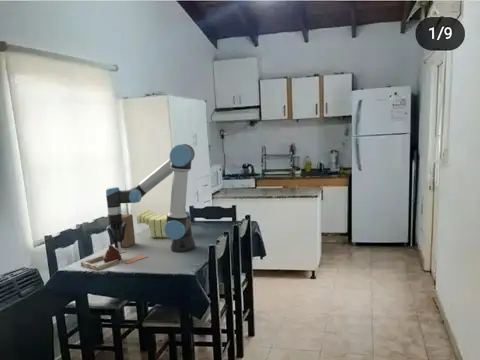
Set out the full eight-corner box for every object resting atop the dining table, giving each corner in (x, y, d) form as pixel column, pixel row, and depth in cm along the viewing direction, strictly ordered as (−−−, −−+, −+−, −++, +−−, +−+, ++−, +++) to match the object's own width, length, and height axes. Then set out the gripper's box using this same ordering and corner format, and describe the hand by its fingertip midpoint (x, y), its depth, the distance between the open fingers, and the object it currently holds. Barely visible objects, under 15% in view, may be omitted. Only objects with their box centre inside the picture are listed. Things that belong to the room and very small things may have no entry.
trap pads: (148, 256, 243) (148, 256, 243) (128, 263, 233) (128, 263, 232) (119, 250, 262) (119, 249, 262) (99, 256, 251) (99, 255, 251)
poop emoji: (107, 263, 235) (105, 247, 234) (101, 260, 242) (99, 245, 241) (123, 259, 241) (122, 244, 240) (118, 256, 248) (116, 241, 247)
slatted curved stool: (138, 238, 288) (136, 213, 286) (149, 232, 304) (147, 208, 302) (178, 238, 281) (176, 213, 279) (187, 232, 296) (185, 208, 294)
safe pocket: (118, 263, 235) (118, 259, 235) (97, 270, 225) (97, 266, 224) (102, 258, 246) (101, 255, 246) (81, 265, 235) (80, 262, 235)
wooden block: (128, 247, 267) (125, 217, 264) (114, 247, 269) (111, 217, 266) (135, 243, 277) (132, 213, 274) (122, 243, 279) (119, 214, 276)
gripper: (120, 211, 249) (124, 249, 252) (101, 215, 240) (105, 254, 242) (128, 212, 244) (131, 250, 247) (108, 216, 235) (112, 256, 238)
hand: (118, 252), depth 245 cm, fingers closed
